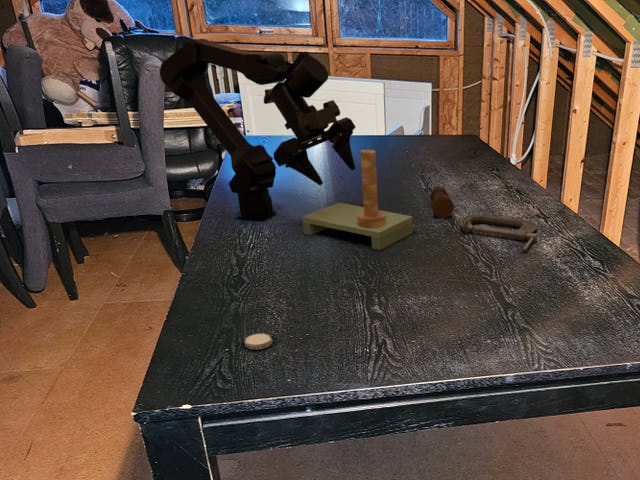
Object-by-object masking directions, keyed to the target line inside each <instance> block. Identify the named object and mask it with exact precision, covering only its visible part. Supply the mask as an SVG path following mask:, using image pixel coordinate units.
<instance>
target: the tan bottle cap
mask: <svg viewBox="0 0 640 480" xmlns="http://www.w3.org/2000/svg"><path fill="white" fill-rule="evenodd" d="M243 341H244V342H243V343H244V346H245V348H247V349H249V350H262V349H266V348H268V347H270V346H271V345H273V337H272V336H271V335H270V334H268V333H255V334H250V335H249V336H246V338H245V339H244V340H243Z"/></svg>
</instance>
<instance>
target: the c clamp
mask: <svg viewBox="0 0 640 480" xmlns="http://www.w3.org/2000/svg"><path fill="white" fill-rule="evenodd" d="M472 224H488V225H495V226H501V227H509V228H516V229H517V230H509V229H501V228H494V227H487V226H481V225H480V226H479V225H472ZM459 225H460V227H461V231H462V233H464V234H469V233H472V232H474V233H482V234H488V235H494V236H503V237H509V238H514V239H515V240H516V241H523V242H525V241H526V240H528V241H527V243H526V244H525V245H524V247H523V248H522V251H523V252H527V251H528V249H529V247H530V246H531V244H532V243H533V241H537V239H538V234H537V233H535V232H536V231H537V229H538V226H537V225H536V223H533V222H531V221H529V220H524V219H523V220H522V219H515V218H510V217H509V218H508V217H501V216H494V215H488V214H469V215H466V216H464V217H463V218H461V220H460V222H459Z"/></svg>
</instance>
